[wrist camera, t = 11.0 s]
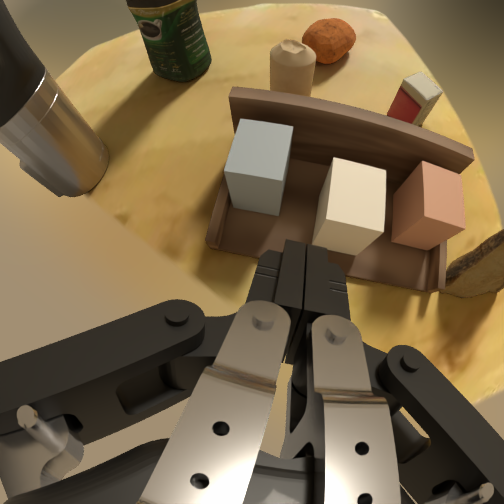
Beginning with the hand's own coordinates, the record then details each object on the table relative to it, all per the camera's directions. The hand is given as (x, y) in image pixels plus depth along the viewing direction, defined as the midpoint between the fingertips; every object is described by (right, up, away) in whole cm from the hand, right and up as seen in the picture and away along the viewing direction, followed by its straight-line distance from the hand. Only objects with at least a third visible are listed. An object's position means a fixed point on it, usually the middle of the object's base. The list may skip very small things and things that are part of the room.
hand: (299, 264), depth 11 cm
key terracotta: (+17, +4, +21) cm, 27 cm away
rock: (+27, -3, +19) cm, 33 cm away
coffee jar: (-13, +31, +29) cm, 44 cm away
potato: (+11, +34, +29) cm, 46 cm away
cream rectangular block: (+8, +3, +21) cm, 23 cm away
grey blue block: (-1, +7, +22) cm, 24 cm away
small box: (+21, +20, +25) cm, 38 cm away
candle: (+4, +22, +26) cm, 34 cm away
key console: (+8, +5, +21) cm, 23 cm away
